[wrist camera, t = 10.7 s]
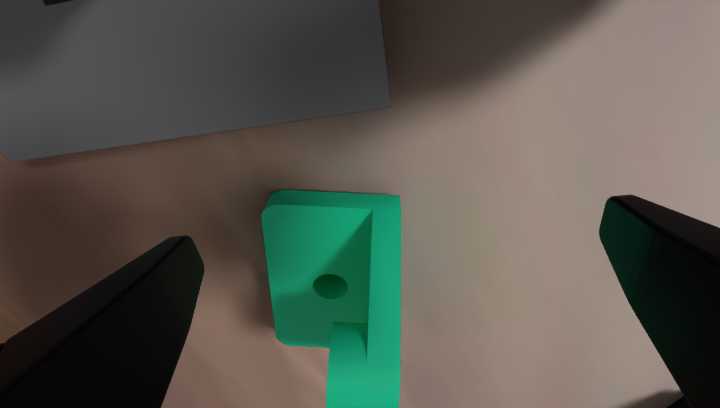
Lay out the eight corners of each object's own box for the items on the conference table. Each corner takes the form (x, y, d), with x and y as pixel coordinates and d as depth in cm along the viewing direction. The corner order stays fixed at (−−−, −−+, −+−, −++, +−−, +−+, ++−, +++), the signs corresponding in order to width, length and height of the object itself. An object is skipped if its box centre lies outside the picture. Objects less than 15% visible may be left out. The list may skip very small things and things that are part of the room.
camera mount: (270, 179, 23) (208, 315, 15) (398, 185, 23) (412, 326, 15) (284, 315, 30) (247, 465, 21) (383, 320, 30) (387, 472, 21)
